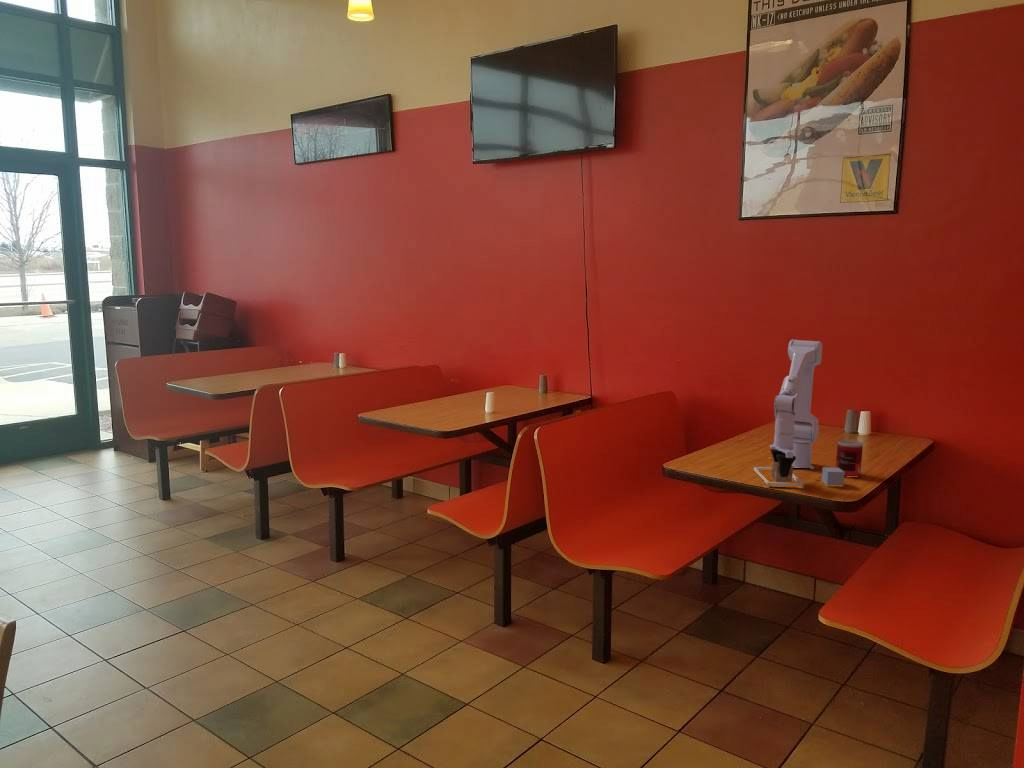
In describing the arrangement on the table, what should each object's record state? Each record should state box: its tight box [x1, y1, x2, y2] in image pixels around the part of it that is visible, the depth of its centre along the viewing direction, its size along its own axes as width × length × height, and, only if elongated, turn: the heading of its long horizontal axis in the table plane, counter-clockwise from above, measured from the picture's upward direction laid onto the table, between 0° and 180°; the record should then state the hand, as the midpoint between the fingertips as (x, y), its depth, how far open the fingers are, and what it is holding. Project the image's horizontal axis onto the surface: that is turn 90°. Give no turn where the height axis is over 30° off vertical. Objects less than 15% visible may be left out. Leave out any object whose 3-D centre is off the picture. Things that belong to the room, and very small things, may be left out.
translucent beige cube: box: [771, 461, 794, 482], centre depth 246 cm, size 5×5×5 cm
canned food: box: [835, 439, 864, 477], centre depth 256 cm, size 8×8×11 cm
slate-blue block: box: [821, 466, 845, 486], centre depth 245 cm, size 5×5×5 cm
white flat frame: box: [752, 466, 805, 488], centre depth 251 cm, size 18×11×2 cm, turn 176°
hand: (781, 474), depth 246 cm, fingers closed on translucent beige cube, 5 cm apart
